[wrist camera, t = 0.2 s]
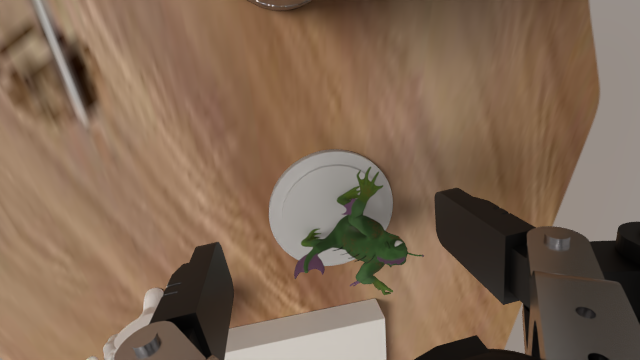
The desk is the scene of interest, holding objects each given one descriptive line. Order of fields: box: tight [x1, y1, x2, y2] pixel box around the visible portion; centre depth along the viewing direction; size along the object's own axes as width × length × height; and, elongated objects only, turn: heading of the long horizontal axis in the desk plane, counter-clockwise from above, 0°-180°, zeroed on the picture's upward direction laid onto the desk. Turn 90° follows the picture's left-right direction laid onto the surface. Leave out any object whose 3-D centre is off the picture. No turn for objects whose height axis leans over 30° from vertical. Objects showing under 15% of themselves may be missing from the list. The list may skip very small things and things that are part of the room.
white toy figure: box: [86, 282, 169, 360], centre depth 26 cm, size 9×4×12 cm, turn 108°
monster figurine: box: [269, 149, 424, 295], centre depth 26 cm, size 12×12×10 cm
